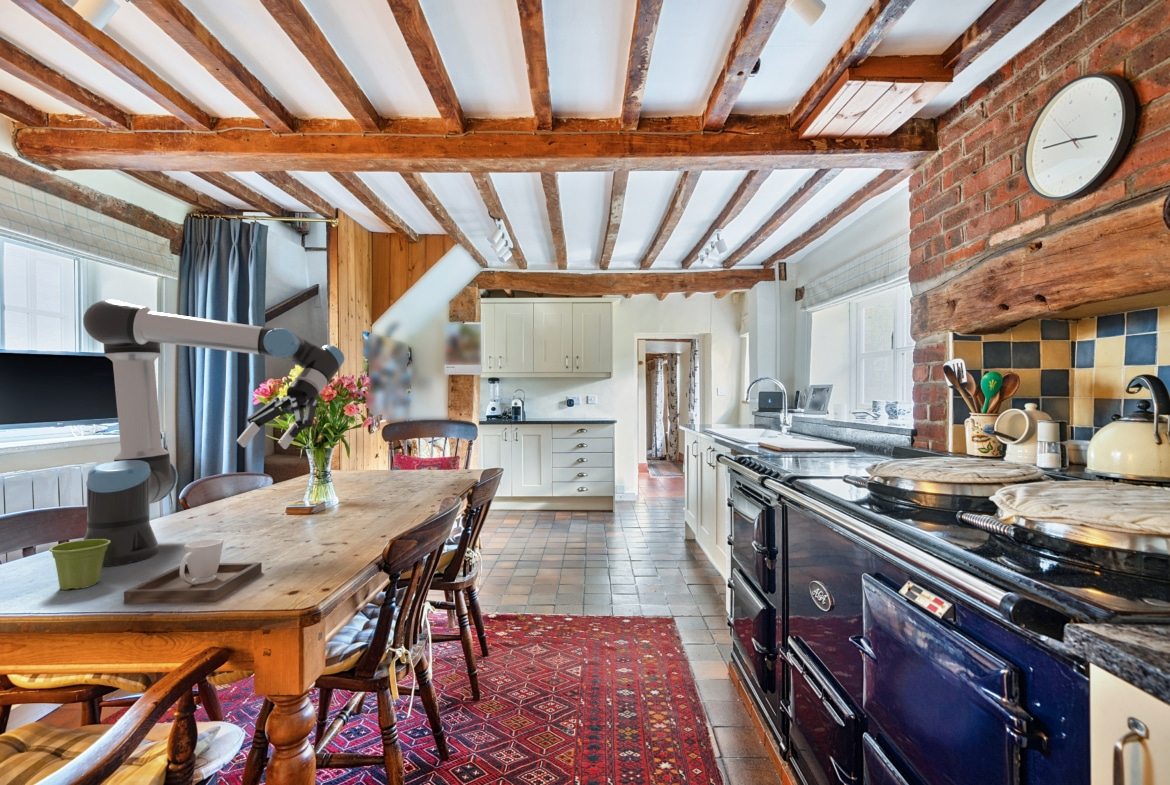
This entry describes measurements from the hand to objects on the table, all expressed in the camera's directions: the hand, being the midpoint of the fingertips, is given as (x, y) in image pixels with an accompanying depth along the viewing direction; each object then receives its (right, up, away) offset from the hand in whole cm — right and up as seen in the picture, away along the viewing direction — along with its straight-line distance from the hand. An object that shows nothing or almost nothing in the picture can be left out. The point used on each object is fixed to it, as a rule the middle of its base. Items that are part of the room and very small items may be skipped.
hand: (260, 445), depth 137 cm
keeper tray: (+2, -28, -25) cm, 37 cm away
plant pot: (-23, -28, -25) cm, 44 cm away
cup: (+2, -27, -25) cm, 37 cm away
